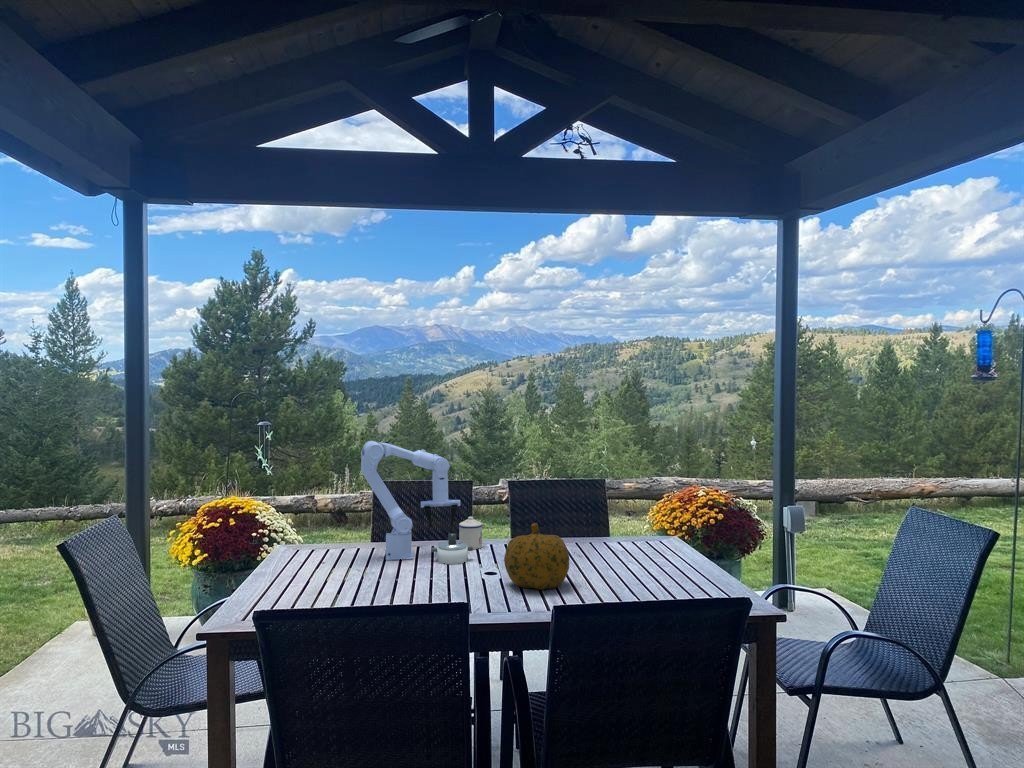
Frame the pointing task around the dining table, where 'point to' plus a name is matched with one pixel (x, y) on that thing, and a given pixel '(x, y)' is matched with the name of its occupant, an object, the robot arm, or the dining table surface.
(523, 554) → the decorative pumpkin
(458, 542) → the lid
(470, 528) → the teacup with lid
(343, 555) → the dining table surface
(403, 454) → the robot arm
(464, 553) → the pot
